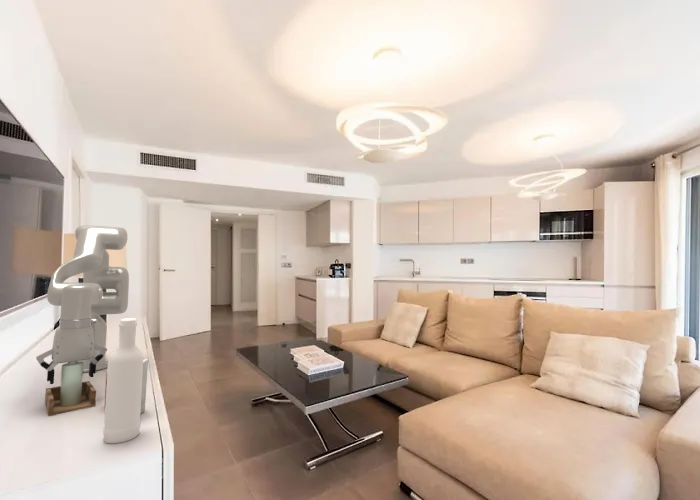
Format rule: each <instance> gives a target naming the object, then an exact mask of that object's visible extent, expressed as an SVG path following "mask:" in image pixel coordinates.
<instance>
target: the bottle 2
mask: <svg viewBox="0 0 700 500" xmlns="http://www.w3.org/2000/svg"><path fill="white" fill-rule="evenodd" d="M137 324H138V323H137V318H136V317H135V318H134V317H131V318H129V317H126V318H121V319H120V320H119V324H118V327H119V334H118V335H119V337H118V347H116V348H115V349H114V350H113V351H112V352H111V354H110V356H109V358H108V361H107V362H108V367H107V370H106V374H107V387H106V386H105V390H106V404H105V403H104V408H105V409H104V422H103V423H104V426H103V431H102V433H103V434H102V435H103V439H102V440H103V441H104V442H105V443H108V444H120V443H125V442H128V441H130V440H133V439H135V438H136V437H137V436H138V435H139V434H140V428H141V414H140V411H141V392H142V374H143V359H144V355H143V352H142V349H140V348H139V346H136V333H137V326H138V325H137Z"/></svg>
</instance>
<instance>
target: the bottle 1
mask: <svg viewBox="0 0 700 500" xmlns="http://www.w3.org/2000/svg"><path fill="white" fill-rule="evenodd" d="M83 373H84V372H83V362H78V361H74V362H66V363H62V364H61V373H60V375H61V376H60V386H61V390H60V406H72V405H76V404H78V403H80V402H81V395H82V382H83V376H84V375H83Z"/></svg>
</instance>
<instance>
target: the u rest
mask: <svg viewBox="0 0 700 500" xmlns="http://www.w3.org/2000/svg"><path fill="white" fill-rule="evenodd" d="M60 390H61V385H60V386H54V387H48V388H47V387H46V388H45V397H44V406H45V409H46V412H47V416H48V417H51V416H54V415H55V416H56V415H60V414H64V413H68V412H74V411H78V410H81V409H87V408H91V407H95V406H96V397H97V390H96V388H95V387H94V385H93V384H92V383H91V381H90V380H87V381H82V395H81V402H80V403H78V404H76V405H72V406H60Z"/></svg>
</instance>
